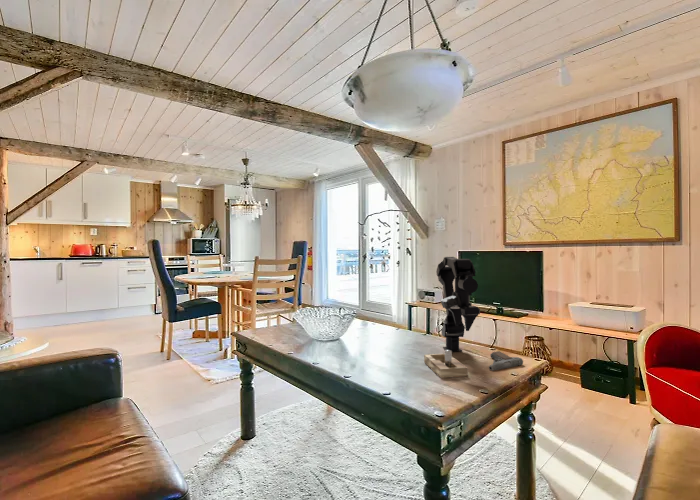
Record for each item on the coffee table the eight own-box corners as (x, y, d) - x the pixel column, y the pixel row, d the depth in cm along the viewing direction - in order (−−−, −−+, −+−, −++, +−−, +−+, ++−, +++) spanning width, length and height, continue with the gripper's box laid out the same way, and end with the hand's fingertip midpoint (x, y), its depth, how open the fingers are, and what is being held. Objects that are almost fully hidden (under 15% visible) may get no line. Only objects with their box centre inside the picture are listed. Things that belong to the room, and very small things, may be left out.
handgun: (470, 356, 144) (492, 365, 133) (500, 350, 150) (524, 358, 139) (470, 363, 144) (492, 373, 133) (500, 357, 150) (524, 366, 139)
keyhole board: (424, 362, 143) (424, 354, 143) (448, 360, 145) (448, 353, 145) (440, 377, 127) (440, 369, 126) (467, 376, 128) (467, 367, 128)
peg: (440, 369, 134) (440, 349, 134) (451, 368, 135) (451, 348, 135) (444, 373, 130) (444, 352, 130) (456, 372, 130) (456, 352, 130)
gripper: (434, 287, 153) (434, 323, 153) (452, 293, 135) (452, 334, 135) (459, 287, 155) (459, 323, 155) (480, 292, 136) (480, 333, 136)
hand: (462, 328), depth 145 cm, fingers open, 9 cm apart
